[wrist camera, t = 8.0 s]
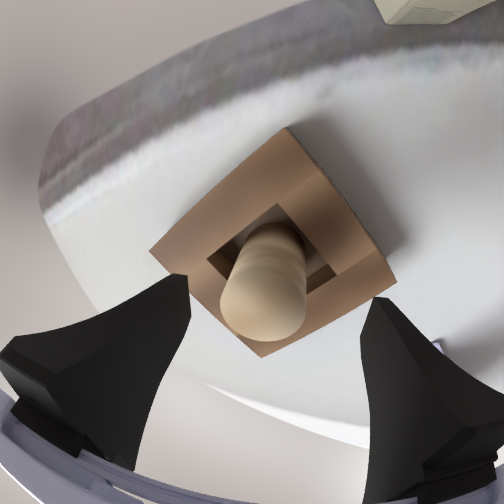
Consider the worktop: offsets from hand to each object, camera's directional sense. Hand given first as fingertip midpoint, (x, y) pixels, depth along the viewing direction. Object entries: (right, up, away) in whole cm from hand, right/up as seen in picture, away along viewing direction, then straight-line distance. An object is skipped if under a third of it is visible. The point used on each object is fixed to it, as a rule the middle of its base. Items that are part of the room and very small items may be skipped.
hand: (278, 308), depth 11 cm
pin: (0, +2, +8) cm, 8 cm away
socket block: (+1, +3, +8) cm, 9 cm away
